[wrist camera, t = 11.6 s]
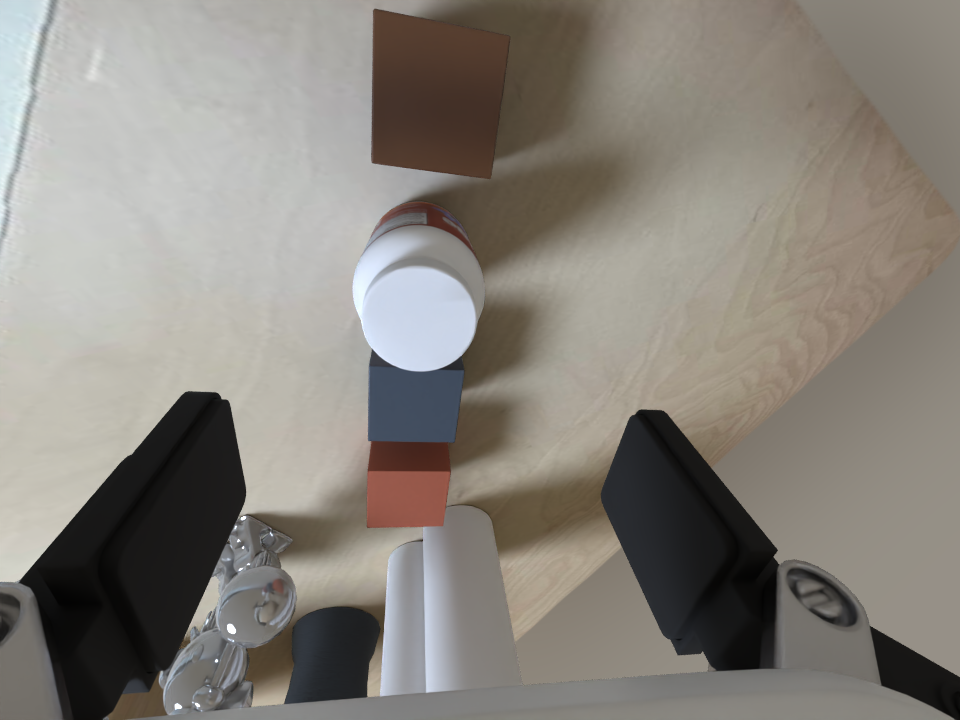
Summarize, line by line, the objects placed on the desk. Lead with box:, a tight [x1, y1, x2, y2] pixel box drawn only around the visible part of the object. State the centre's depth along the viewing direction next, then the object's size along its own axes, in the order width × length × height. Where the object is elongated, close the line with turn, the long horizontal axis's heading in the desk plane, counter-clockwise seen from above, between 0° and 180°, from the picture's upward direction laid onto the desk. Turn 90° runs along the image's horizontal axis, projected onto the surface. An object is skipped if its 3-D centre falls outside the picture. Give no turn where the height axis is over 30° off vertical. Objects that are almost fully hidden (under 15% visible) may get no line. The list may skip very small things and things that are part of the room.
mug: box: [284, 607, 380, 704], centre depth 41 cm, size 12×9×11 cm
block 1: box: [371, 9, 510, 179], centre depth 20 cm, size 6×6×6 cm
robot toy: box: [158, 515, 297, 715], centre depth 30 cm, size 15×6×15 cm, turn 140°
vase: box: [380, 505, 523, 696], centre depth 32 cm, size 11×7×20 cm, turn 140°
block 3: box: [367, 441, 451, 528], centre depth 32 cm, size 6×6×6 cm
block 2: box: [368, 349, 465, 443], centre depth 28 cm, size 6×6×6 cm
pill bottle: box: [353, 201, 485, 371], centre depth 22 cm, size 6×6×11 cm
